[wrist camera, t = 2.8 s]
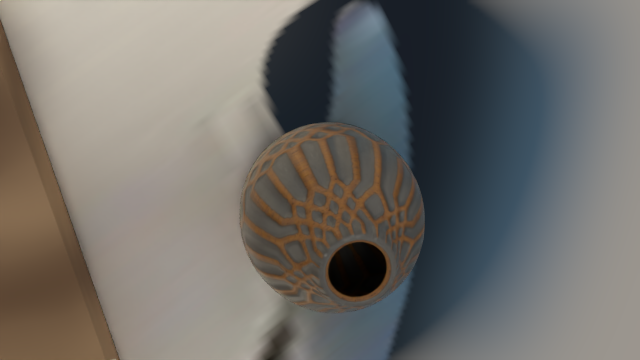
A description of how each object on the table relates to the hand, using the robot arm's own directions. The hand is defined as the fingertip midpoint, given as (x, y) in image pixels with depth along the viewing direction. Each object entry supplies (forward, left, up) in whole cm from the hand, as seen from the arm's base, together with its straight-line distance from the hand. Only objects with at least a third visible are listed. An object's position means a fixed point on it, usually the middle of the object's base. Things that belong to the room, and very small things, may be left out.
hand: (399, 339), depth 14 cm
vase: (0, 0, -13) cm, 13 cm away
